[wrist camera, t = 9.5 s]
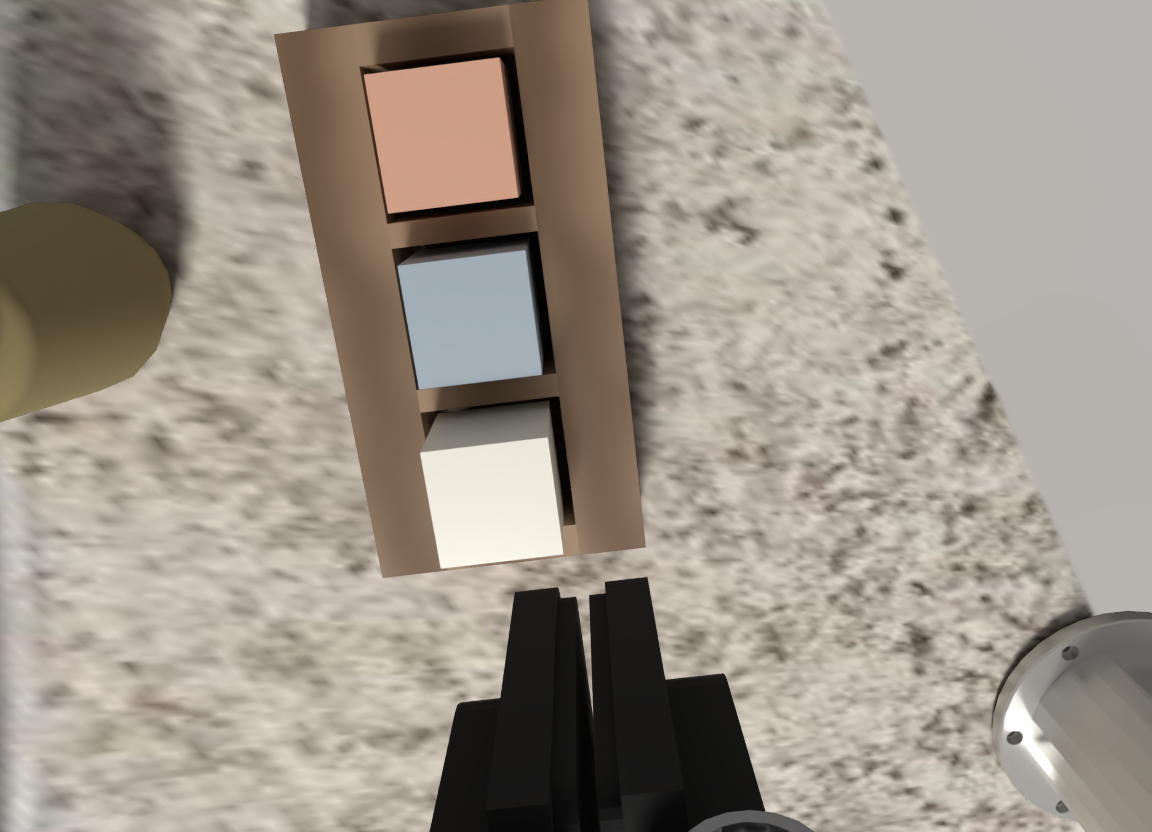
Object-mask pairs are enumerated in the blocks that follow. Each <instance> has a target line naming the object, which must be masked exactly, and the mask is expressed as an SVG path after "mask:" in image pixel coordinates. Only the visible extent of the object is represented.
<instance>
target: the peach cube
mask: <svg viewBox="0 0 1152 832" xmlns="http://www.w3.org/2000/svg"><path fill="white" fill-rule="evenodd" d="M364 79H365V84H366V90H367V96H368V102H369V107H370V113H371V119H372V124H373V130H374V136H375V141H376V147H377V153H378V158H379V164H380V170H381V176H382V181H383V187H384V193H385V198H386V204H387V210H388V214H389V213H397V212H405V211H413V210H421V209H429V208H437V207H445V206H453V205H461V204H469V203H478V202H486V201H494V200H502V199H510V198H518V197H519V196H520V195H521V193H522V192H523V191H524V189H523V181H522V174H521V166H520V159H519V151H518V144H517V136H516V129H515V121H514V113H513V106H512V98H511V91H510V83H509V76H508V69H507V68H506V66H505V65H504V63H503V62H502V60H501V59H500V58H491V59H484V60H476V61H468V62H460V63H452V64H444V65H436V66H428V67H420V68H413V69H405V70H397V71H389V72H381V73H373V74H365V75H364Z"/></svg>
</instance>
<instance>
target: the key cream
mask: <svg viewBox="0 0 1152 832" xmlns="http://www.w3.org/2000/svg"><path fill="white" fill-rule="evenodd" d="M420 456H421V461H422V467H423V472H424V478H425V483H426V489H427V495H428V500H429V506H430V511H431V517H432V523H433V528H434V534H435V539H436V545H437V551H438V556H439V562H440V567H441V569H443V568H452V567H460V566H469V565H477V564H486V563H495V562H503V561H512V560H520V559H529V558H538V557H546V556H555V555H563V554H564V543H563V499H562V491H561V484H560V476H559V469H558V461H557V454H556V446H555V439H554V431H553V424H552V416H551V409H550V401H549V400H548V401H540V402H532V403H523V404H515V405H507V406H498V407H490V408H482V409H473V410H465V411H456V412H448V413H440V414H437V416H436V419H435V421H434V423H433V425H432V427H431V430H430V432H429V434H428V436H427V438H426V440H425V443H424V445H423V447H422V449H421V451H420Z"/></svg>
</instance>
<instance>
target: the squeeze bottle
mask: <svg viewBox="0 0 1152 832" xmlns="http://www.w3.org/2000/svg"><path fill="white" fill-rule="evenodd" d="M171 302H172V292H171V285H170V278H169V273H168V271H167V269H166V267H165V266H164V264H163V262H162V260H161V258H160V257H159V255H158V253H157V251H156V250H155V249H154V248H153V247H152V246H151V245H149V244H148V243H147V242H146V241H145V240H144V239H143V238H141V237H140V236H139V235H138V234H137V233H136V232H134V231H133V230H131V229H129V228H127V227H126V226H124V225H122V224H120V223H119V222H117V221H115V220H114V219H112V218H110V217H108V216H105V215H103V214H100V213H98V212H95V211H92V210H90V209H87V208H85V207H82V206H79V205H77V204H74V203H72V202H48V203H29V204H26V205H23V206H20V207H16V208H13V209H10V210H7V211H3V212H0V422H3V421H6V420H9V419H12V418H15V417H19V416H22V415H25V414H28V413H31V412H34V411H37V410H40V409H44V408H47V407H50V406H53V405H56V404H59V403H62V402H66V401H69V400H72V399H75V398H78V397H81V396H84V395H88V394H91V393H94V392H97V391H100V390H103V389H105V388H108V387H110V386H112V385H114V384H117V383H119V382H121V381H123V380H126V379H128V378H130V377H133V376H134V375H135V374H136V373H137V372H138V370H139V369H140V368H141V367H142V366H143V365H144V364H145V362H146V361H147V360H148V359H149V358H150V357H151V356H152V354H153V353H154V352H155V351H156V349H157V346H158V343H159V340H160V337H161V335H162V332H163V329H164V326H165V323H166V320H167V316H168V313H169V309H170V305H171Z"/></svg>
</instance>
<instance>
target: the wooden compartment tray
mask: <svg viewBox="0 0 1152 832" xmlns="http://www.w3.org/2000/svg"><path fill="white" fill-rule="evenodd" d="M274 37H275V42H276V47H277V52H278V57H279V62H280V67H281V72H282V77H283V82H284V87H285V92H286V97H287V102H288V107H289V112H290V117H291V122H292V127H293V132H294V137H295V142H296V147H297V152H298V157H299V162H300V167H301V172H302V177H303V182H304V187H305V192H306V197H307V202H308V207H309V212H310V217H311V222H312V227H313V232H314V237H315V242H316V247H317V252H318V257H319V262H320V267H321V272H322V277H323V282H324V287H325V292H326V297H327V302H328V307H329V312H330V317H331V322H332V327H333V332H334V337H335V342H336V347H337V352H338V357H339V362H340V367H341V372H342V377H343V382H344V387H345V392H346V397H347V402H348V407H349V412H350V417H351V422H352V427H353V432H354V437H355V442H356V447H357V452H358V457H359V462H360V467H361V472H362V477H363V482H364V487H365V492H366V497H367V502H368V507H369V512H370V517H371V522H372V527H373V532H374V537H375V542H376V547H377V552H378V557H379V562H380V567H381V572H382V577H383V578H386V577H395V576H403V575H412V574H420V573H429V572H438V571H446V570H455V569H463V568H472V567H481V566H489V565H498V564H506V563H515V562H524V561H532V560H541V559H549V558H558V557H567V556H575V555H584V554H592V553H601V552H610V551H618V550H627V549H635V548H644V547H646V545H645V535H644V526H643V516H642V507H641V498H640V488H639V479H638V469H637V460H636V451H635V441H634V432H633V422H632V413H631V403H630V394H629V385H628V375H627V366H626V356H625V347H624V338H623V328H622V319H621V309H620V300H619V291H618V281H617V272H616V262H615V253H614V244H613V234H612V225H611V215H610V206H609V196H608V187H607V178H606V168H605V159H604V149H603V140H602V131H601V121H600V112H599V102H598V93H597V84H596V74H595V65H594V55H593V46H592V36H591V27H590V18H589V8H588V0H539V1H531V2H524V3H516V4H508V5H500V6H492V7H485V8H477V9H469V10H461V11H453V12H445V13H438V14H430V15H422V16H414V17H406V18H399V19H391V20H383V21H375V22H367V23H359V24H352V25H344V26H336V27H328V28H320V29H313V30H305V31H297V32H289V33H281V34H274ZM491 58H500V59H501V60H504V59H511V58H515V59H516V67H517V75H518V83H519V90H520V98H521V106H522V113H523V121H524V129H525V137H526V144H527V152H528V160H529V167H530V175H531V183H532V191H533V198H534V200H528V201H520V202H512V203H504V204H496V205H488V206H480V207H472V208H464V209H456V210H448V211H439V212H431V213H423V214H415V215H407V216H405V212H397V213H389V214H388V210H387V204H386V198H385V193H384V187H383V181H382V176H381V170H380V164H379V158H378V153H377V147H376V141H375V136H374V130H373V124H372V119H371V113H370V107H369V102H368V96H367V90H366V84H365V79H364V75H365V74H373V73H381V72H389V71H397V70H405V69H413V68H420V67H428V66H436V65H444V64H452V63H460V62H468V61H476V60H484V59H491ZM533 231H538V237H539V245H540V252H541V260H542V268H543V275H544V283H545V291H546V299H547V306H548V314H549V322H550V329H551V337H552V345H553V351H548V352H544V358H543V370H542V375H537V376H528V377H520V378H512V379H503V380H495V381H487V382H478V383H470V384H462V385H453V386H445V387H437V388H428V389H420V390H419V386H418V380H417V375H416V369H415V363H414V358H413V352H412V346H411V340H410V335H409V329H408V323H407V318H406V312H405V306H404V301H403V295H402V289H401V283H400V278H399V272H398V265H399V264H401V263H402V262H403V261H405V260H406V259H407V258H409V257H410V256H411V255H412V252H411V246H419V245H428V244H436V243H444V242H452V241H460V240H468V239H476V238H484V237H492V236H501V235H509V234H517V233H525V232H533ZM555 396H559V399H560V407H561V414H562V422H563V430H564V437H565V445H566V453H567V461H568V468H569V476H570V484H571V488H570V489H561V491H562V499H563V543H564V554H563V555H555V556H546V557H538V558H529V559H520V560H512V561H503V562H495V563H486V564H477V565H469V566H460V567H452V568H443V569H441V567H440V562H439V556H438V551H437V545H436V539H435V534H434V528H433V523H432V517H431V511H430V506H429V500H428V495H427V489H426V483H425V478H424V472H423V467H422V461H421V456H420V451H421V449H422V447H423V445H424V443H425V440H426V438H427V436H428V434H429V432H430V430H431V427H432V425H433V423H434V421H435V419H436V416H437V414H439V410H447V409H455V408H463V407H472V406H480V405H488V404H497V403H505V402H514V401H522V400H530V399H539V398H547V397H555Z"/></svg>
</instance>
